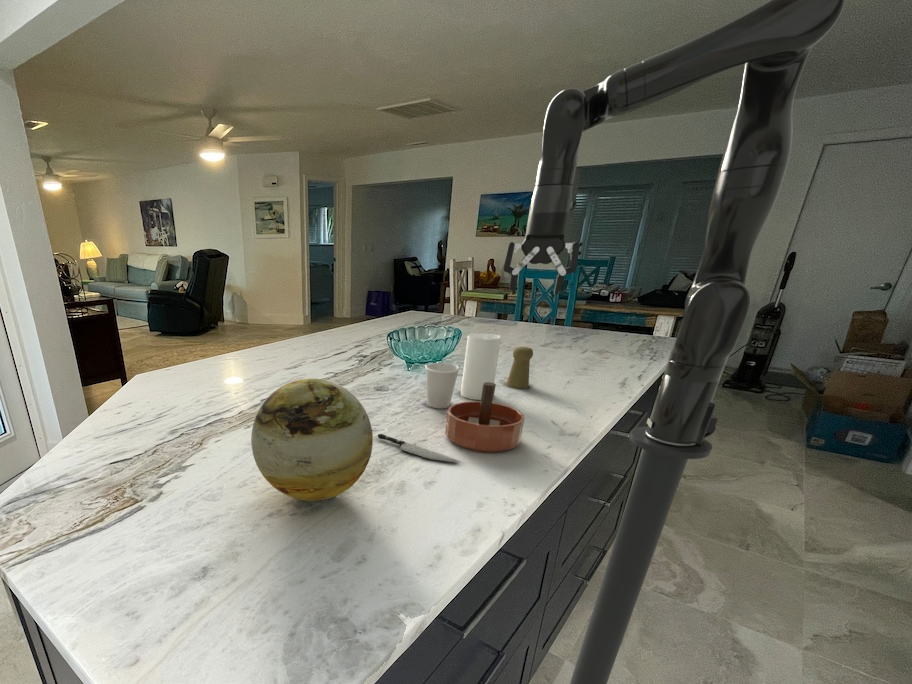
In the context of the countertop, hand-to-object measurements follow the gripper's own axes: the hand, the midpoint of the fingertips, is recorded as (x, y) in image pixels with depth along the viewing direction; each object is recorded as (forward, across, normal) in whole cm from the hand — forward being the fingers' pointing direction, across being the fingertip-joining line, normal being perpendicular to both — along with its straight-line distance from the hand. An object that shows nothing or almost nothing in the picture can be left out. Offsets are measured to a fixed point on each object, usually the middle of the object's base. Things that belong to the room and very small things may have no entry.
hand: (534, 293), depth 103 cm
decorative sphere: (+28, -34, -52) cm, 68 cm away
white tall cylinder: (+28, -9, +12) cm, 32 cm away
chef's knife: (+28, -20, -30) cm, 46 cm away
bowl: (+28, -7, -19) cm, 35 cm away
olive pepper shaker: (+28, +2, +25) cm, 38 cm away
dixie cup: (+28, -18, +1) cm, 34 cm away
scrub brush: (+27, -7, -19) cm, 34 cm away
